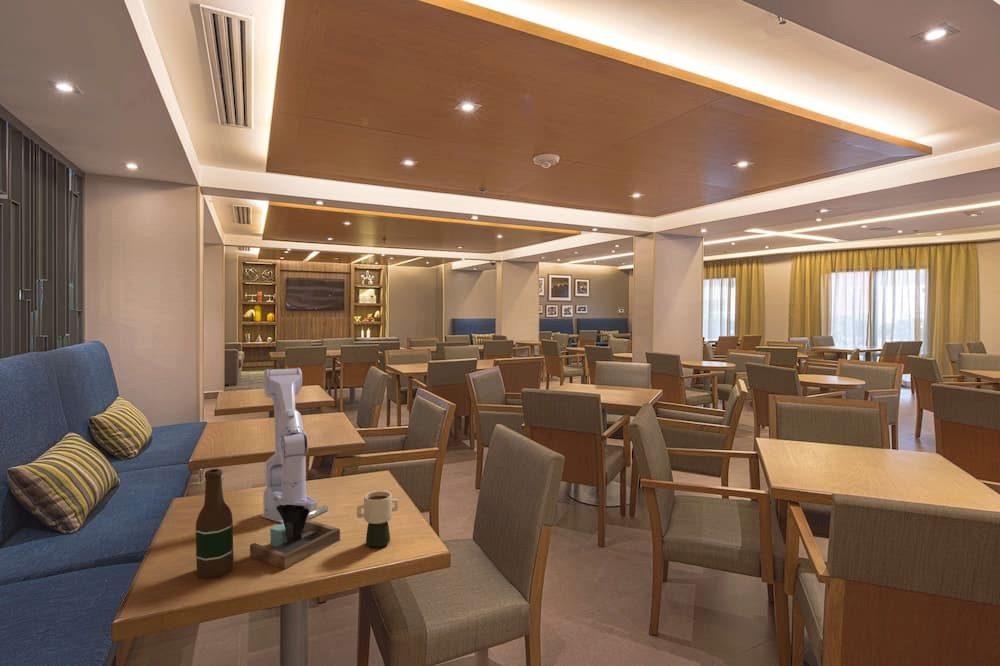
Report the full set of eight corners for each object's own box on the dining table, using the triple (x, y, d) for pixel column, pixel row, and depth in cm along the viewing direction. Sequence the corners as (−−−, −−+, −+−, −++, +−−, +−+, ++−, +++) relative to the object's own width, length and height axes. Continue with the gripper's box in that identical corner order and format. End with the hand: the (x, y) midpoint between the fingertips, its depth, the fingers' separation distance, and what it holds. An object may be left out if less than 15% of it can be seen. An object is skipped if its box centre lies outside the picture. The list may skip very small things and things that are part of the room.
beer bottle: (209, 562, 124) (207, 465, 123) (240, 563, 124) (238, 465, 123) (188, 579, 116) (186, 475, 115) (222, 580, 116) (220, 476, 115)
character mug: (394, 534, 140) (393, 487, 139) (402, 544, 134) (402, 496, 133) (353, 542, 135) (353, 494, 134) (360, 554, 129) (360, 503, 128)
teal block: (270, 545, 133) (270, 528, 133) (285, 538, 137) (284, 522, 137) (282, 549, 131) (282, 532, 131) (296, 542, 135) (296, 525, 135)
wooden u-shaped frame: (250, 556, 127) (249, 544, 127) (306, 529, 142) (306, 519, 142) (285, 569, 121) (284, 557, 121) (340, 540, 136) (339, 529, 136)
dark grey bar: (271, 556, 127) (270, 529, 127) (309, 537, 138) (308, 512, 137) (278, 559, 126) (277, 531, 125) (316, 539, 136) (315, 513, 136)
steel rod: (296, 523, 144) (293, 517, 145) (293, 527, 145) (289, 521, 146) (329, 509, 155) (325, 503, 156) (325, 512, 156) (322, 507, 156)
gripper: (261, 480, 131) (262, 532, 132) (301, 490, 124) (301, 544, 125) (284, 472, 137) (285, 522, 138) (323, 481, 130) (324, 533, 131)
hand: (294, 532), depth 132 cm, fingers closed on dark grey bar, 2 cm apart
